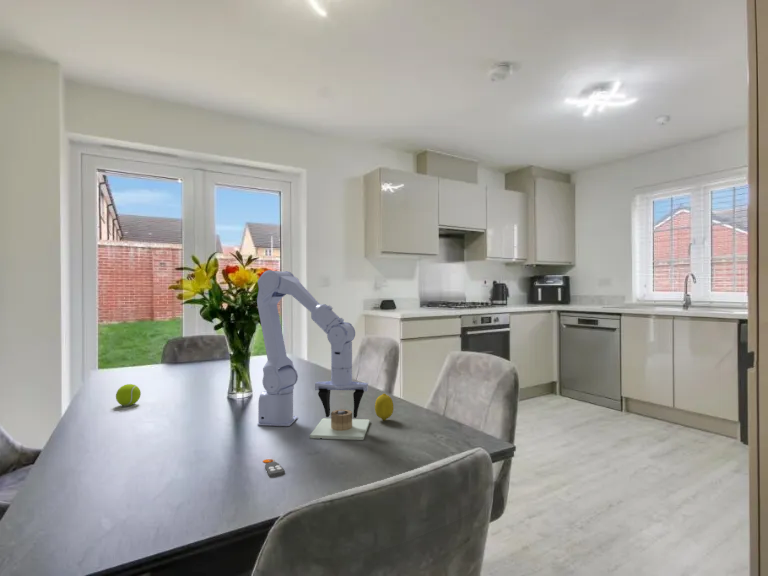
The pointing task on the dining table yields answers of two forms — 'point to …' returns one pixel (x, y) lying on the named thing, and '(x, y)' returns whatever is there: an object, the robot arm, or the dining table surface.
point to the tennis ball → (128, 395)
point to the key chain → (273, 468)
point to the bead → (341, 420)
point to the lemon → (384, 406)
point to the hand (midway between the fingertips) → (341, 416)
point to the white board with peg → (354, 433)
